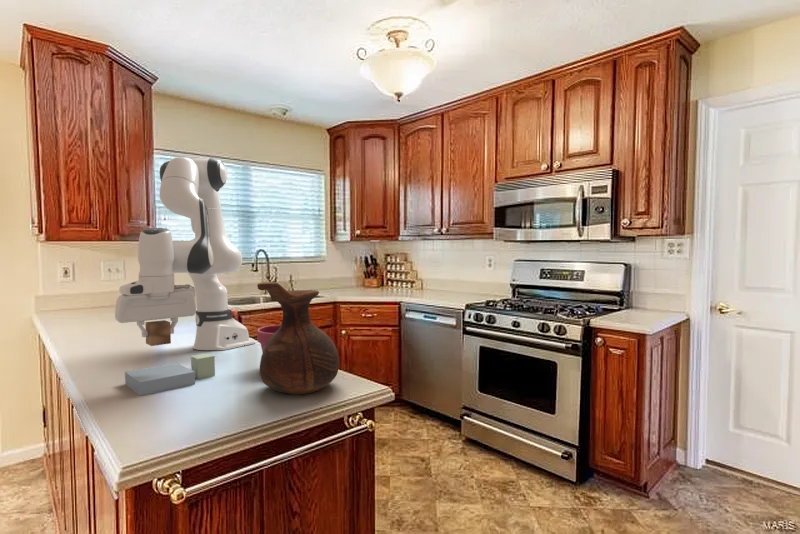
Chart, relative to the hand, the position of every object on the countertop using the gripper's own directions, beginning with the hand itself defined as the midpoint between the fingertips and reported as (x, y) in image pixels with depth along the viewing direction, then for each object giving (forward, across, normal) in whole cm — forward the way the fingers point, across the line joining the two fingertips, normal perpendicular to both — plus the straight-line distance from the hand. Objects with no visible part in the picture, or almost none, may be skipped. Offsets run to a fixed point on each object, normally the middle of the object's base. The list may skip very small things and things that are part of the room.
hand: (158, 335), depth 129 cm
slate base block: (+14, 0, 0) cm, 14 cm away
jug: (+14, -26, +31) cm, 43 cm away
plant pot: (+14, -33, +9) cm, 37 cm away
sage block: (+14, -12, 0) cm, 19 cm away
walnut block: (+2, 0, 0) cm, 2 cm away
